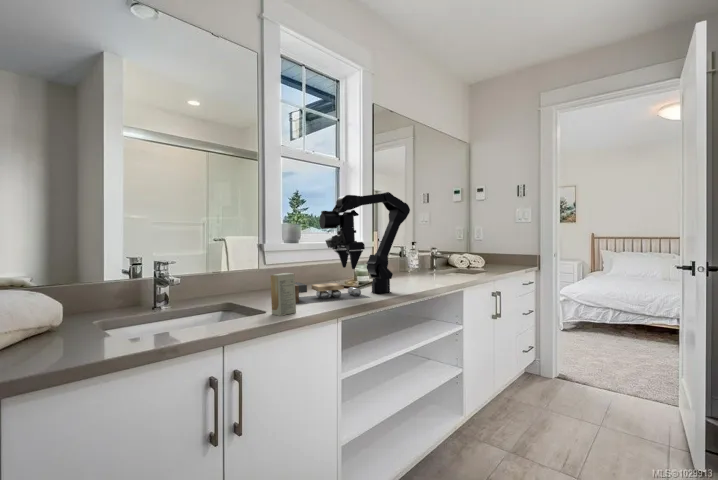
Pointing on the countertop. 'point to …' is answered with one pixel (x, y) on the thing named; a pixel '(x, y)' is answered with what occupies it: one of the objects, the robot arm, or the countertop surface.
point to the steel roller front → (322, 294)
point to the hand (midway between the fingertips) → (348, 268)
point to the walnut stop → (299, 290)
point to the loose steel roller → (354, 291)
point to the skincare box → (283, 294)
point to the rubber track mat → (329, 298)
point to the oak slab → (327, 287)
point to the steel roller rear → (335, 293)
